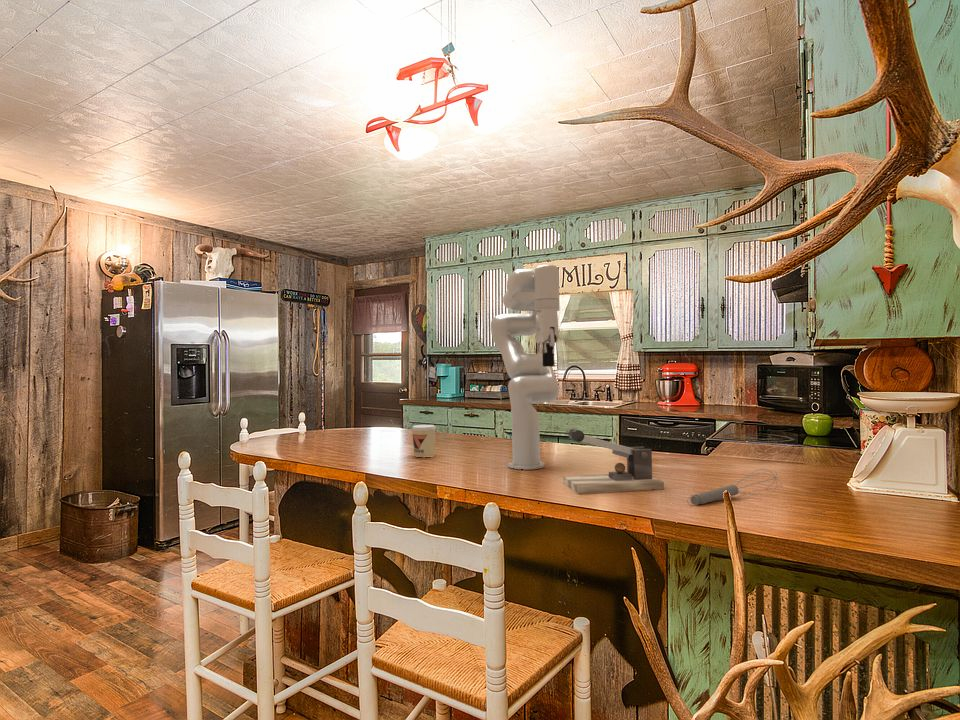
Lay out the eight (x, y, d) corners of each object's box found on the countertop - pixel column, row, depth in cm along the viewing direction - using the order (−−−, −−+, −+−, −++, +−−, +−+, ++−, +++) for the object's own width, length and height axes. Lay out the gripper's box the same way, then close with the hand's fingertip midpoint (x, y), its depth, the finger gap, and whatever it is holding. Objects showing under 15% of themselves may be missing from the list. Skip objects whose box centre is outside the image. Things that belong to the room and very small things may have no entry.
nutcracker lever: (566, 440, 159) (569, 427, 159) (637, 459, 162) (640, 446, 162) (571, 443, 154) (575, 429, 154) (644, 462, 157) (648, 449, 157)
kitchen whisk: (678, 504, 138) (678, 479, 138) (766, 488, 153) (765, 466, 153) (697, 510, 132) (697, 484, 132) (786, 493, 147) (786, 469, 147)
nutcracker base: (563, 482, 163) (562, 447, 163) (642, 478, 167) (641, 444, 167) (578, 494, 149) (577, 455, 149) (664, 488, 153) (663, 451, 153)
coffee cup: (407, 457, 213) (406, 426, 213) (424, 453, 221) (424, 424, 221) (424, 459, 207) (423, 428, 207) (441, 455, 214) (440, 425, 214)
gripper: (529, 308, 173) (530, 366, 173) (541, 303, 158) (542, 366, 158) (552, 308, 174) (553, 365, 174) (566, 303, 159) (567, 366, 159)
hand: (548, 366), depth 166 cm, fingers closed
